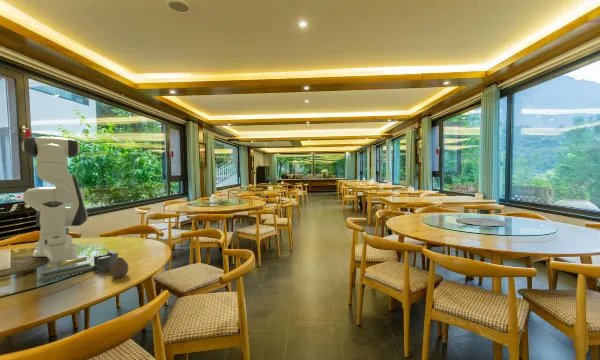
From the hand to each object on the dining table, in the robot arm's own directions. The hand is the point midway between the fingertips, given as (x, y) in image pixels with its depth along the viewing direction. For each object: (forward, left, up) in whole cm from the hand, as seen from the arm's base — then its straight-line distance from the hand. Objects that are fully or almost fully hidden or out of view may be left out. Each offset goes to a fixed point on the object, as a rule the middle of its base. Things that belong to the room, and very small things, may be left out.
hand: (53, 267), depth 120 cm
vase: (+21, +19, -5) cm, 29 cm away
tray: (0, +5, -5) cm, 7 cm away
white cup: (-16, +8, -5) cm, 19 cm away
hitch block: (+6, +18, -5) cm, 20 cm away
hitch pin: (0, +5, 0) cm, 5 cm away
